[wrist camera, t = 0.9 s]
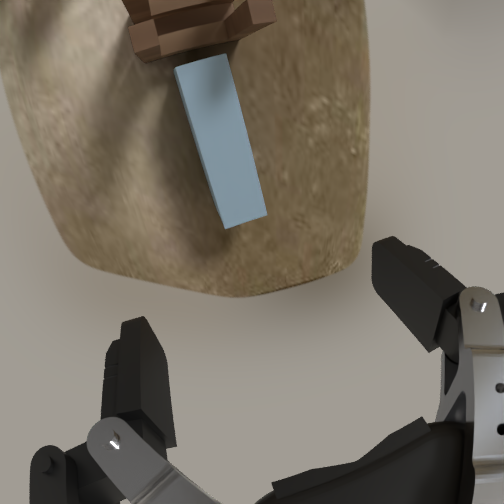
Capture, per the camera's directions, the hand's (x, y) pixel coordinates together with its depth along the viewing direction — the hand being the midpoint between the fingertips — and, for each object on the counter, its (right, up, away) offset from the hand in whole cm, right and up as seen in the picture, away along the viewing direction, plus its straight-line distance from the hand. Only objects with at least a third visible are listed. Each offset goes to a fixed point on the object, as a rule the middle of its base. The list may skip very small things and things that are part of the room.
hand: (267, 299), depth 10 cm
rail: (-3, +10, +12) cm, 16 cm away
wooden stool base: (-5, +17, +7) cm, 19 cm away
